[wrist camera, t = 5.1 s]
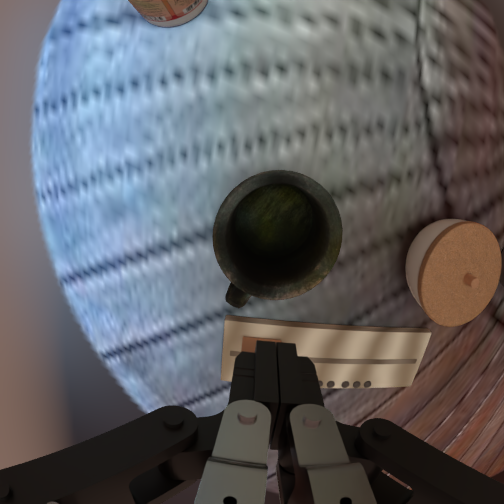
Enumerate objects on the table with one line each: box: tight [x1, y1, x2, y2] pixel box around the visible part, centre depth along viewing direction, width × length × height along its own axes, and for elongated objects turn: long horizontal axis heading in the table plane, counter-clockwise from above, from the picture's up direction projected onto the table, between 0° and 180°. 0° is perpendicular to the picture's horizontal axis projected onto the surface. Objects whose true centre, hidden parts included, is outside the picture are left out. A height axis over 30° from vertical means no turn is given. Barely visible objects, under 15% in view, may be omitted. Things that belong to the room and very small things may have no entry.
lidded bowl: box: [405, 219, 501, 327], centre depth 32 cm, size 13×13×11 cm
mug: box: [213, 170, 342, 308], centre depth 32 cm, size 11×15×12 cm
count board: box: [221, 315, 431, 388], centre depth 41 cm, size 30×10×2 cm, turn 84°
